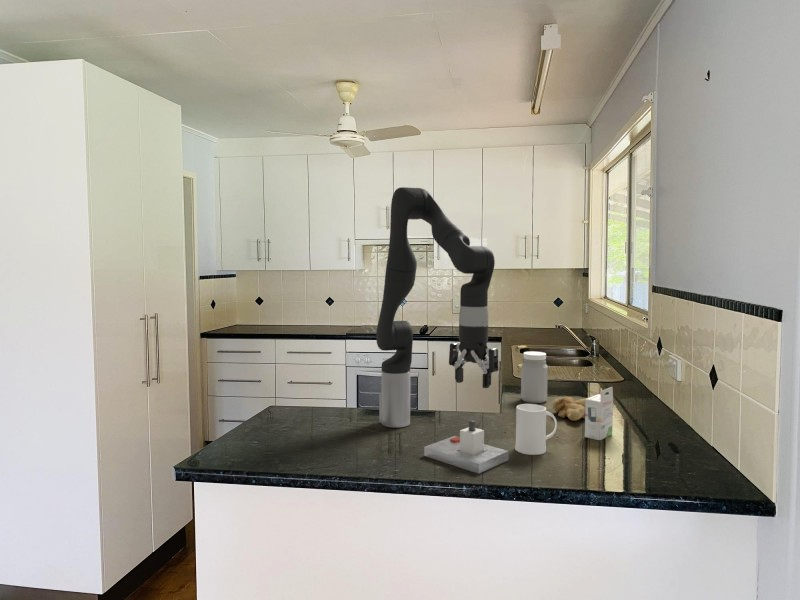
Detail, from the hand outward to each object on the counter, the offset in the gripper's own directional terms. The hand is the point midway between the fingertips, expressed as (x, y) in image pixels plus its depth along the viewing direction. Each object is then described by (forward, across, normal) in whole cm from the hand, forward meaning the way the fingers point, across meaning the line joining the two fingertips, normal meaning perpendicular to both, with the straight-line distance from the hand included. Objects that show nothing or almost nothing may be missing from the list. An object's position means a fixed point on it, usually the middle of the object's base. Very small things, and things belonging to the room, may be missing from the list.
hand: (472, 385), depth 145 cm
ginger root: (+20, -1, +57) cm, 60 cm away
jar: (+20, -21, +67) cm, 73 cm away
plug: (+20, 0, 0) cm, 20 cm away
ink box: (+20, +15, +43) cm, 50 cm away
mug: (+20, +8, +19) cm, 29 cm away
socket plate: (+20, -2, 0) cm, 20 cm away
